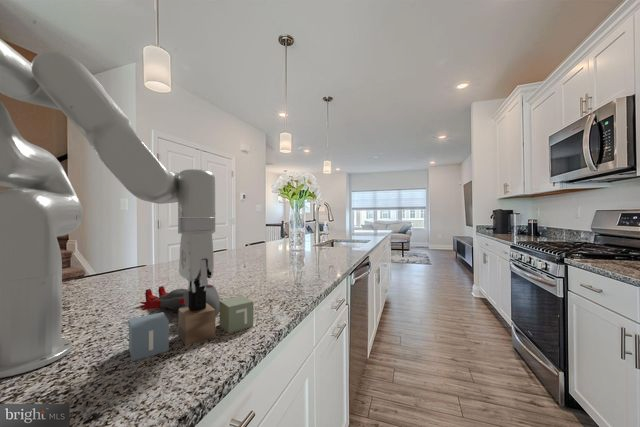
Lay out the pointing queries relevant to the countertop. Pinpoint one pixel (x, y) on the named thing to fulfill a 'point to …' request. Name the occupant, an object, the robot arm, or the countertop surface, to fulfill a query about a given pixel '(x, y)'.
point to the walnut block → (196, 324)
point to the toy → (178, 299)
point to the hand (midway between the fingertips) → (197, 309)
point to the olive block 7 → (235, 313)
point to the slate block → (148, 335)
